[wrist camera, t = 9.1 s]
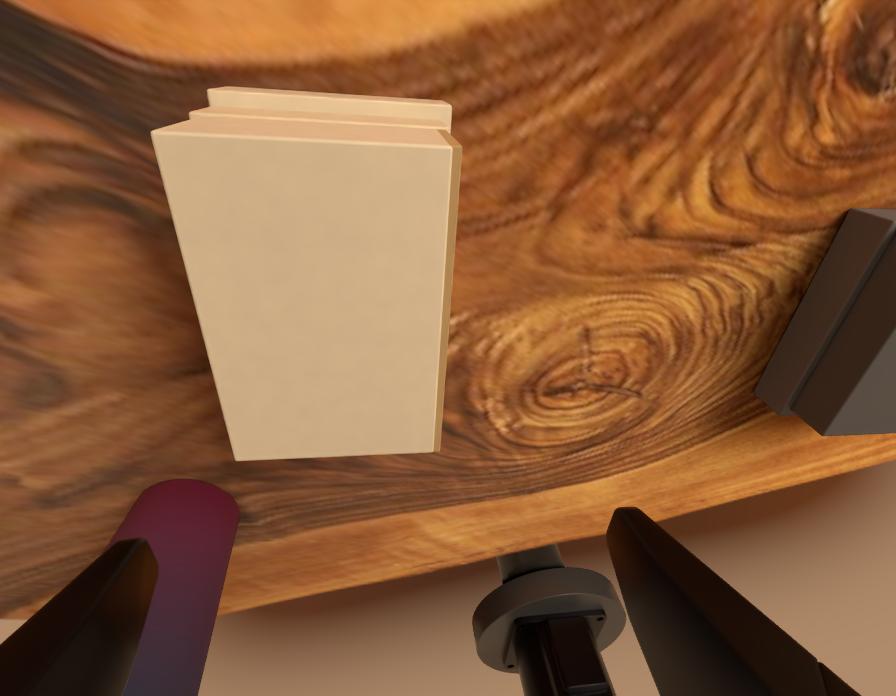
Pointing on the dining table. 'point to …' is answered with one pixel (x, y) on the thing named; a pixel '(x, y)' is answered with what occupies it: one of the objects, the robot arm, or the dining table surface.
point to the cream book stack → (325, 108)
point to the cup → (180, 581)
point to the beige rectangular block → (318, 278)
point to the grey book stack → (843, 336)
